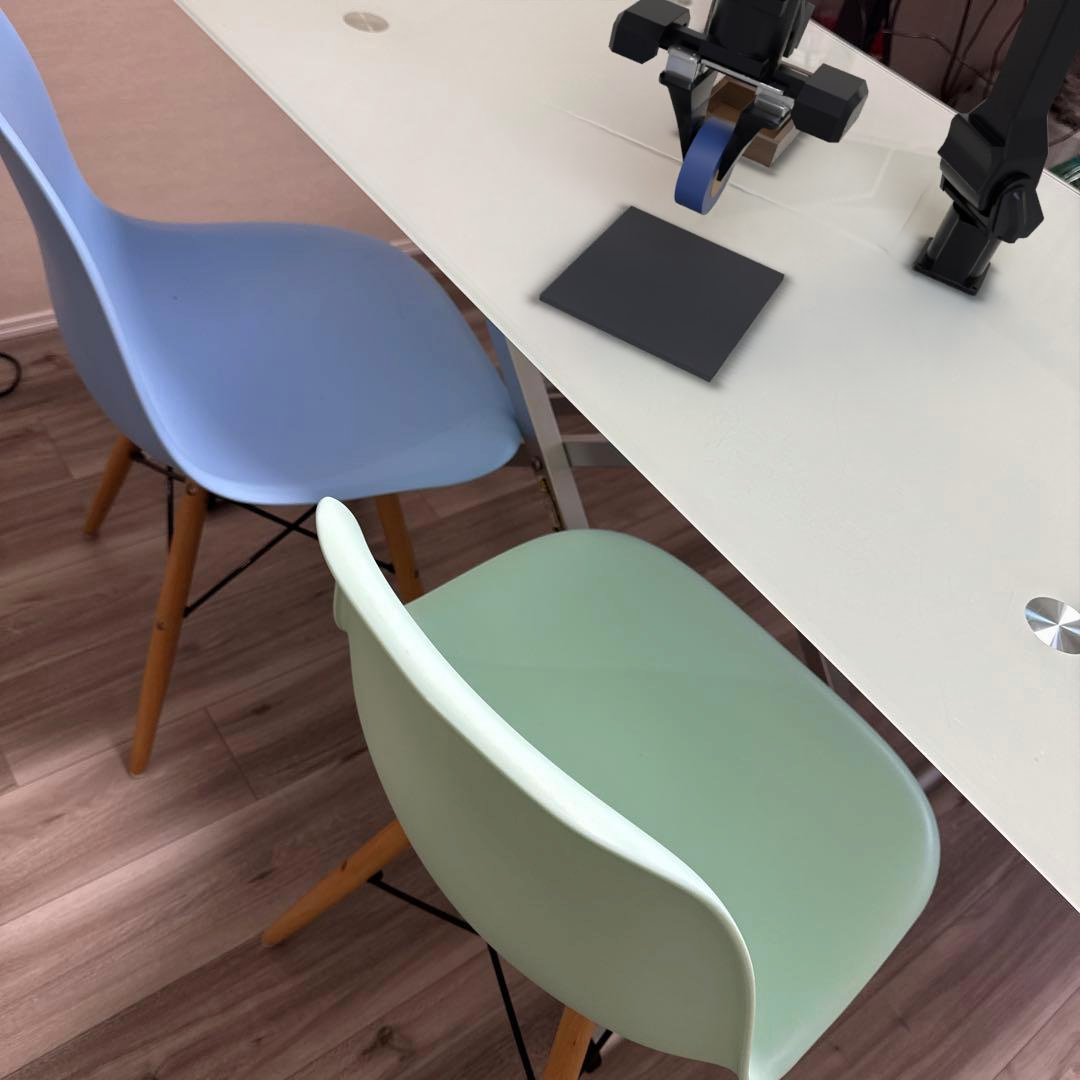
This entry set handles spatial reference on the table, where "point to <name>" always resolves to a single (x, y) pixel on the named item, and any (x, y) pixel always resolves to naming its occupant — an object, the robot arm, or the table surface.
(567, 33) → the table surface
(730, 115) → the tray
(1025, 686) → the table surface
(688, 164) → the tape
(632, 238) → the mat
